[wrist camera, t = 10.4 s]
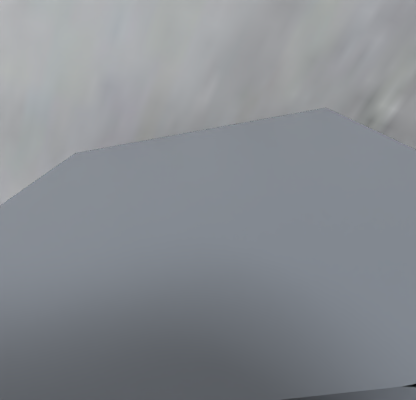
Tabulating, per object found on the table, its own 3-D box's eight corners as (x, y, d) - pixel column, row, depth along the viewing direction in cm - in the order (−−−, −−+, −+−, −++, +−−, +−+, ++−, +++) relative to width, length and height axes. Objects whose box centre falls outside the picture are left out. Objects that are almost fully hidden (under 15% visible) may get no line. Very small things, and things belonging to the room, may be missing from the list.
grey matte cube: (326, 107, 10) (825, 339, 2) (336, 314, 13) (545, 756, 5) (75, 153, 11) (-381, 470, 2) (138, 339, 14) (26, 763, 5)
